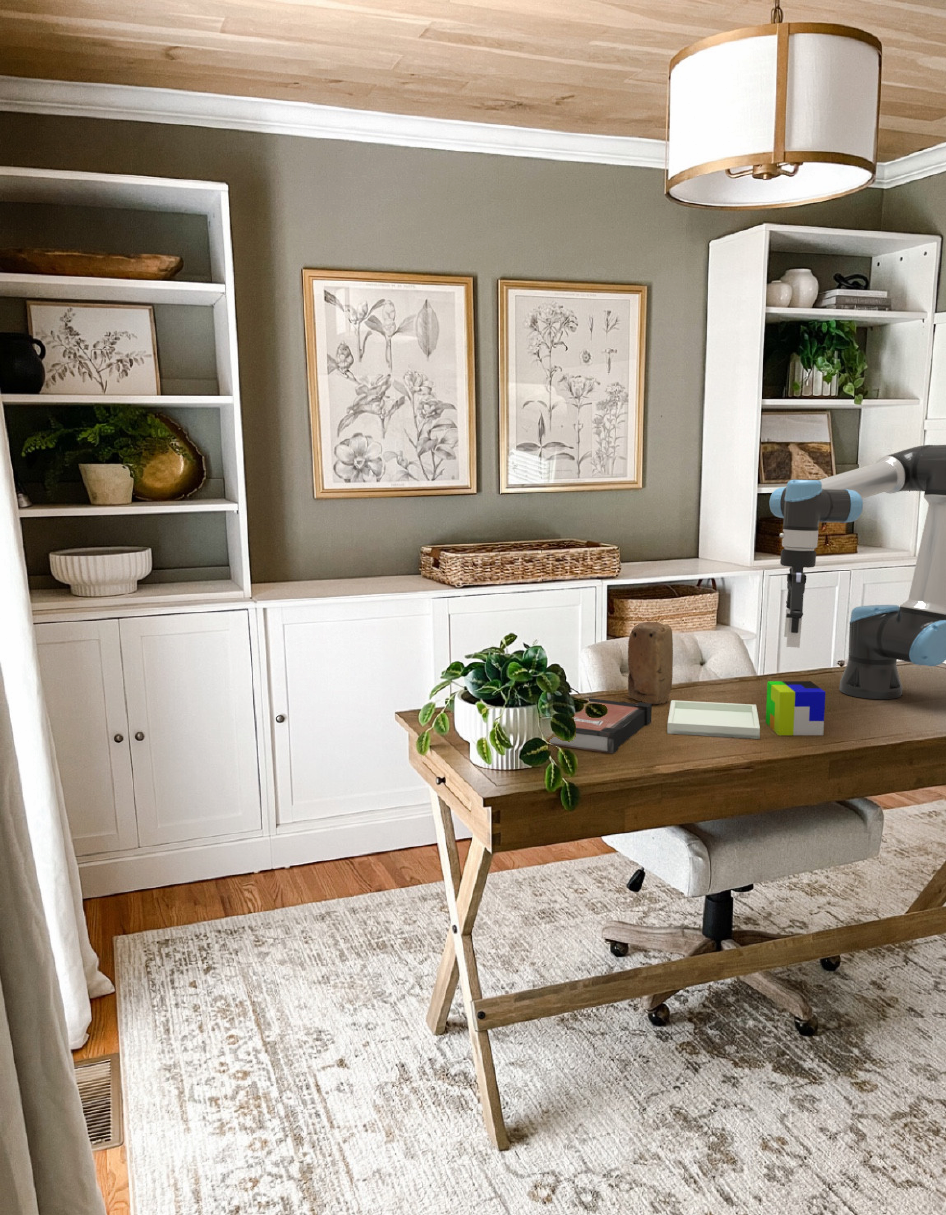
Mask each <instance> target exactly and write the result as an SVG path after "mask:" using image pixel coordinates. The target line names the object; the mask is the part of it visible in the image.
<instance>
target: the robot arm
mask: <svg viewBox="0 0 946 1215" xmlns="http://www.w3.org/2000/svg"><path fill="white" fill-rule="evenodd" d="M900 492H924V494H923V498H924V499H925V501H926V502H927V503H928V505H927V506H928V507H927V511H926V515H925V521H924V525H923V529H922V530H923V531H922V534H921V539H920V544H919V548H918V553H917V556H916V557H917V558H916V562H915V568H914V572H913V576H912V581H911V585H910V591H909V594H908V599H907V600H906V601H905V602H903V603H902V604H900V606H899V605H898V604H875V605H874V604H873V605H872V604H871V605H870V604H869V605H860V606H855V607H854V608H853V609H852V610H851V613H850V620H849V631H848V632H849V633H848V634H849V635H848V636H849V637H848V657H847V658H848V660H847V663H846V666H845V669H844V671H843V672H842V676H841V678H840V680H839V691H840V692H841V693H843V694H845V695H848V696H850V697H855V698H861V699H870V700H891V699H897V698H900V697H902V696H903V684H902V680H901V677H900V674H899V670H898V665H897V660H898V661H902V662H906V663H912V664H913V665H917V666H924V667H925V666H926V667H937V666H939V665H941V664H943V663H944V662H946V444H926V445H925V444H924V445H919V446H918V445H917V446H914V447H910V448H907V449H903V450H901V451H898V452H895V453H891V454H888V455H884V456H881V457H879V459H877V461H876V462H874V463H872V464H868V465H865V466H861V467H859V468H855V469H852V470H848V471H844V472H841V473H839V474H838V473H837V474H834V475H831V476H828V477H825V478H822V479H819V480H818V479H817V480H816V479H815V480H814V479H790V480H788V481H787V483H786V486H784V487H783V486H782V487H778V488H776V489H775V490H773V492H772V493H771V495H770V497H769V503H768V504H769V509H770V512H771V513H772V515H773V516H775V517H777V518H780V519H783V525H782V526H783V527H782V533H779V537H780V538H782V539H781V546H782V547H783V548H782V550H781V551H780V561H779V562H780V563H779V564H780V566H783V567H790V568H789V573H787V575H786V582H787V586H786V587H787V588H786V589H787V594H786V595H787V596H786V600H785V604H786V606H785V608H786V610H785V619H784V620H785V621H784V631H783V633H784V635H783V637H784V638H786V647H787V648H797V649H799V648H800V644H801V634H802V620H803V615H804V613H803V612H804V611H803V610H804V594H805V591H806V584H807V575H806V574H805V572H804V569H805V568H807V569H808V568H815V566H816V562H817V561H816V560H817V551H816V550H815V549H816V548H818V541H819V539H818V538H819V527H820V526H819V525H820V523H839V524H840V523H841V524H845V523H852V522H855V521H857V520H858V519H859V518H860V517H861V514H862V512H863V510H864V509H863V508H864V506H863V505H864V501H863V499H865V498H869V497H873V496H875V495H879V494H881V493H882V494H883V493H886V494H896V493H900ZM901 695H902V696H901Z"/></svg>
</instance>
